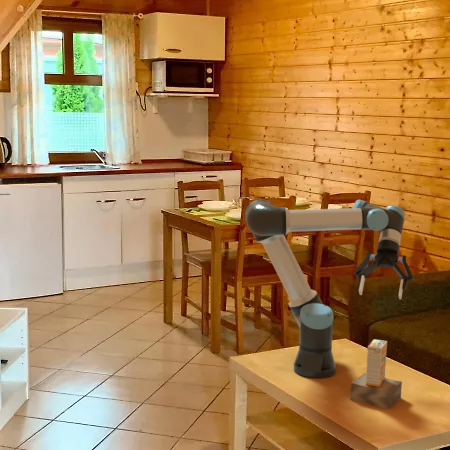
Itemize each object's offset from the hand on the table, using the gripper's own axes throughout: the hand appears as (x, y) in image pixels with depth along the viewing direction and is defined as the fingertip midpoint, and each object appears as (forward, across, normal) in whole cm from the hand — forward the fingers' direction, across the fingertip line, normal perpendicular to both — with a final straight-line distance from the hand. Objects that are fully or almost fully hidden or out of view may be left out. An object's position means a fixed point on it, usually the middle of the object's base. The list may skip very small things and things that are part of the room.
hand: (379, 295), depth 246 cm
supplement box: (+31, -3, -3) cm, 31 cm away
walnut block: (+35, -3, -7) cm, 36 cm away
